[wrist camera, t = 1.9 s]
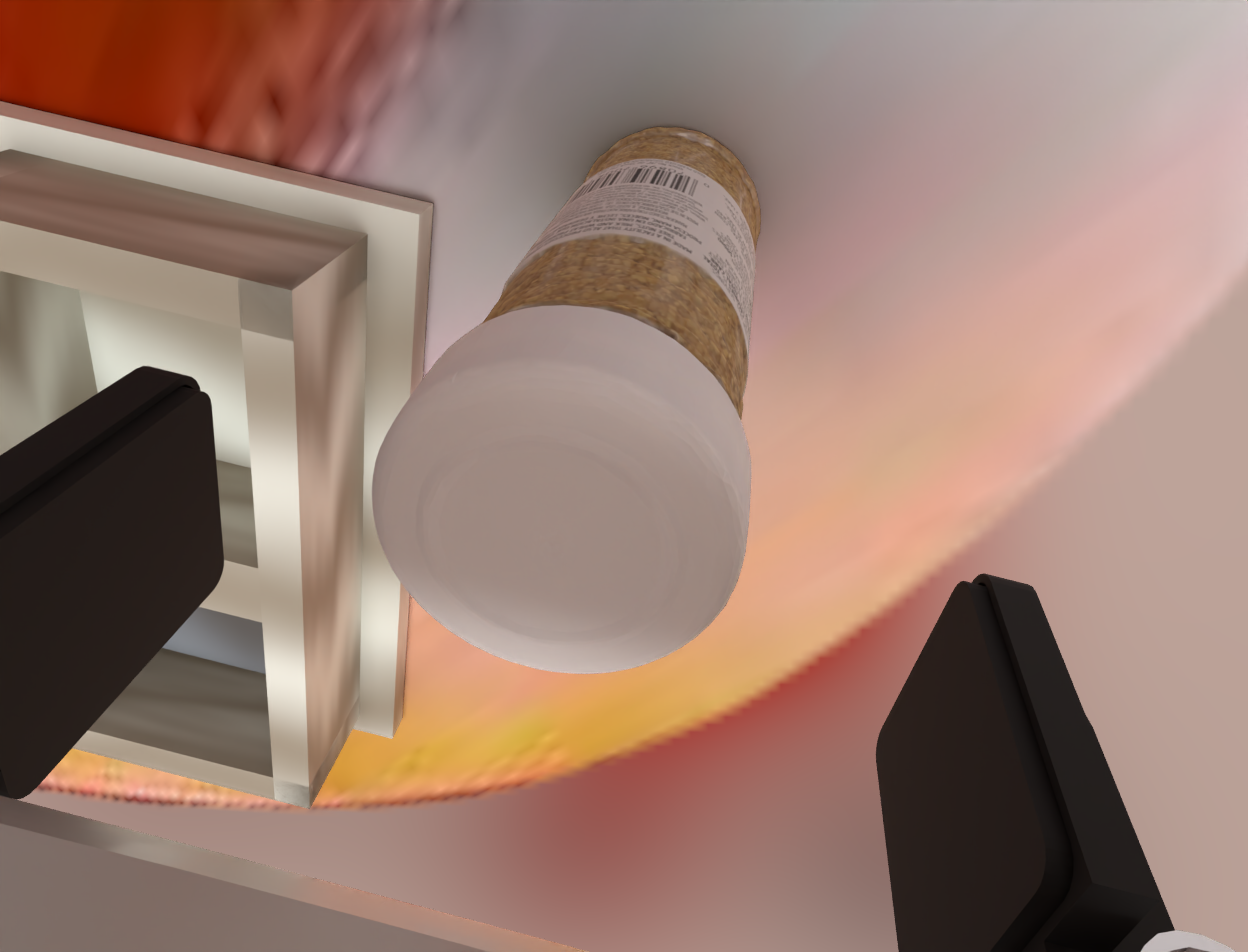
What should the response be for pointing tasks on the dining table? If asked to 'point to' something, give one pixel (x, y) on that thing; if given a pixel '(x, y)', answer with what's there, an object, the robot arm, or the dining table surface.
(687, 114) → the dining table surface
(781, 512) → the dining table surface
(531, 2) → the dining table surface
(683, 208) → the sprinkles bottle
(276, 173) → the slot rack
